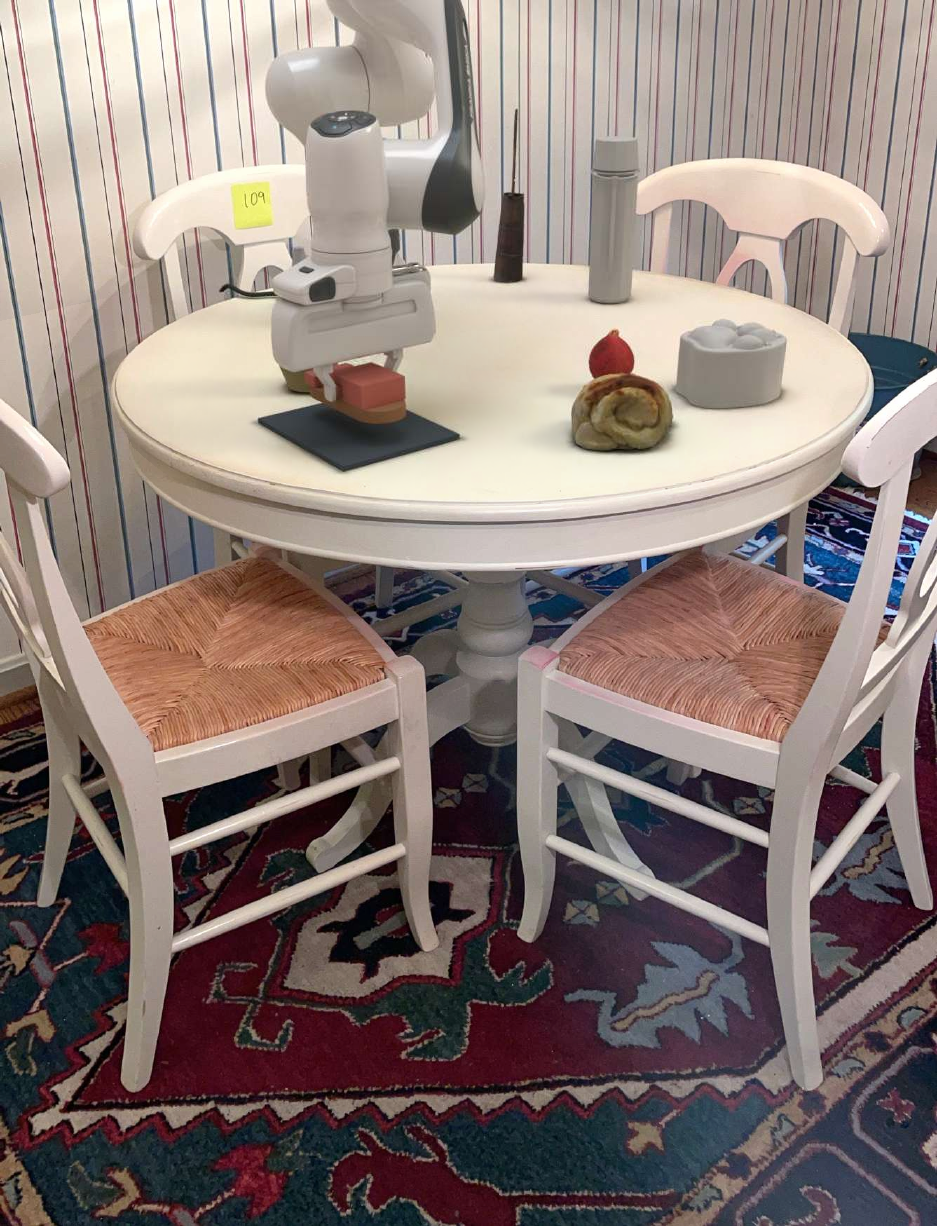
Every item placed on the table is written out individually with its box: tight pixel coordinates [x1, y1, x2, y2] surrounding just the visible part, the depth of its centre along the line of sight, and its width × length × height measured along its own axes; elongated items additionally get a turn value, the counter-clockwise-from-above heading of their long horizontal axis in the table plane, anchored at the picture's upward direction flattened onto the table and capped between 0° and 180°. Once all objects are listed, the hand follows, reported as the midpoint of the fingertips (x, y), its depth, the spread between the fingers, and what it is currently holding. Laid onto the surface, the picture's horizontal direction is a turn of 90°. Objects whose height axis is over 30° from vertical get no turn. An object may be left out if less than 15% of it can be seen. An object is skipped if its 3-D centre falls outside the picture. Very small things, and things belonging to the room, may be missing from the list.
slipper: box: [304, 361, 407, 424], centre depth 131 cm, size 16×6×4 cm, turn 37°
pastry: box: [570, 372, 674, 451], centre depth 129 cm, size 14×12×8 cm
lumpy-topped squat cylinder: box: [675, 318, 788, 409], centre depth 141 cm, size 10×13×9 cm
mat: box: [257, 402, 461, 472], centre depth 133 cm, size 20×16×1 cm
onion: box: [588, 328, 636, 380], centre depth 144 cm, size 6×6×8 cm
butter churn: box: [493, 108, 525, 283], centre depth 192 cm, size 9×10×28 cm
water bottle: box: [587, 135, 642, 305], centre depth 180 cm, size 9×8×25 cm
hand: (360, 393), depth 130 cm, fingers closed on slipper, 6 cm apart
